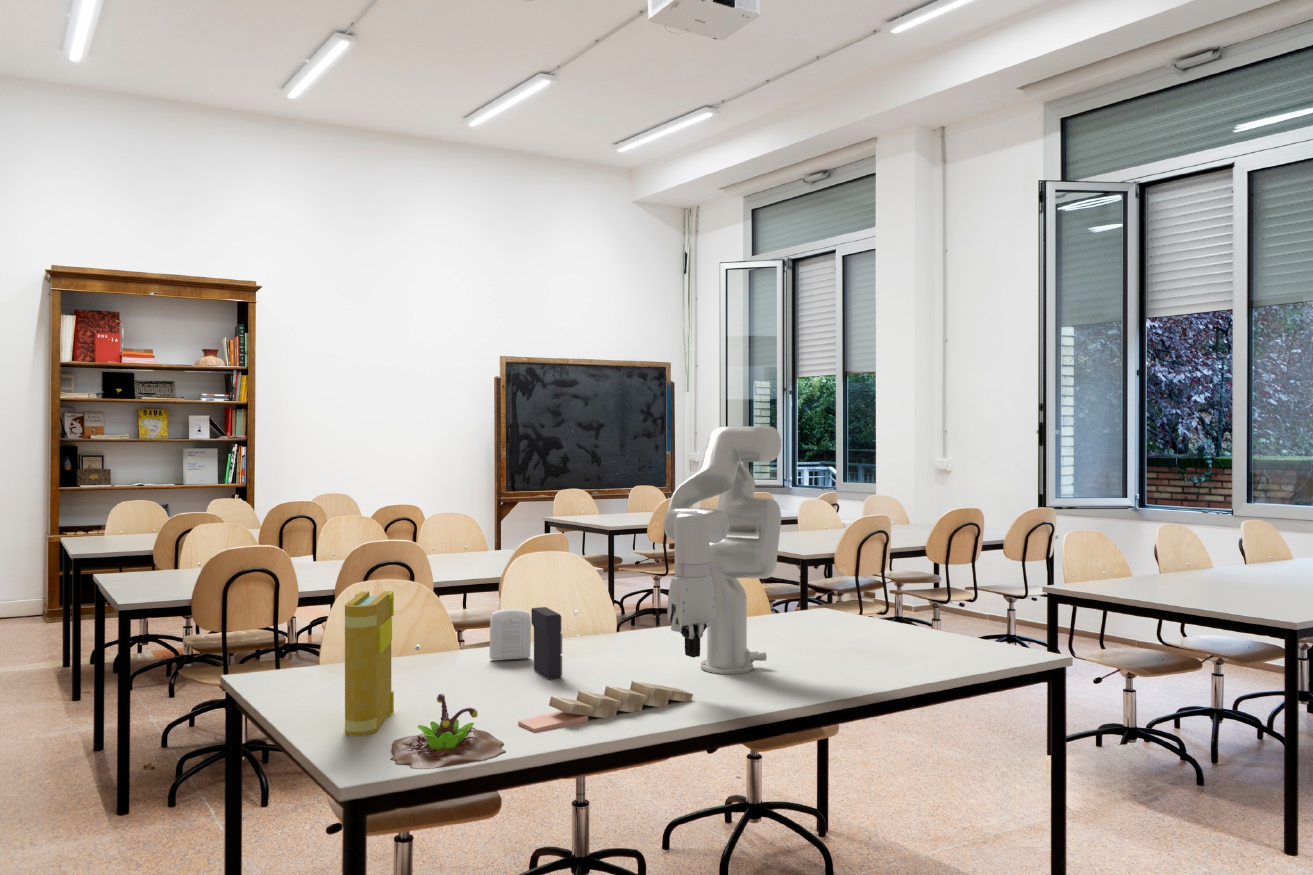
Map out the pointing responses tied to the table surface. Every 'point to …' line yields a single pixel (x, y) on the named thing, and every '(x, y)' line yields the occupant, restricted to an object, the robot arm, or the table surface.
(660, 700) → the domino
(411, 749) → the plant
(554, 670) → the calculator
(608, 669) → the table surface
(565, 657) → the table surface
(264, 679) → the table surface
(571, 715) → the domino
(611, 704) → the domino
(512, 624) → the grey headstone
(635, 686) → the domino
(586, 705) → the domino
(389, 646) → the book
